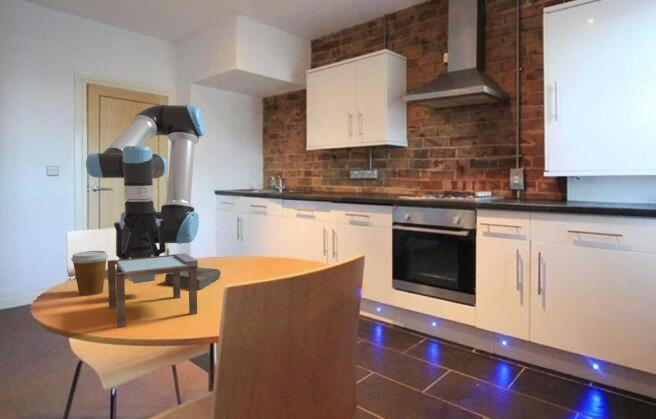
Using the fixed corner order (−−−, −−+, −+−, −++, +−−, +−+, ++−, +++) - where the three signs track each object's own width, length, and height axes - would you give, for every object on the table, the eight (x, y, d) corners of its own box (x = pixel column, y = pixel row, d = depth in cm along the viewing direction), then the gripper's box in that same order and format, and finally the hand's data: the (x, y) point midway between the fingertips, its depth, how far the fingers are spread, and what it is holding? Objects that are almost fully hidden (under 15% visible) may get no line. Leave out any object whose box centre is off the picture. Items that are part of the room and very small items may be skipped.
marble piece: (200, 291, 125) (199, 278, 125) (157, 288, 128) (157, 275, 127) (224, 278, 141) (224, 266, 141) (186, 276, 144) (186, 264, 144)
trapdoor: (117, 267, 107) (117, 258, 107) (183, 260, 117) (183, 252, 117) (125, 279, 95) (125, 269, 95) (199, 270, 105) (199, 261, 104)
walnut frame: (109, 306, 108) (107, 260, 107) (178, 296, 118) (178, 253, 118) (118, 327, 93) (116, 274, 92) (197, 313, 104) (196, 265, 103)
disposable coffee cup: (76, 290, 124) (74, 251, 123) (111, 287, 127) (109, 249, 127) (69, 298, 115) (67, 257, 114) (106, 295, 119) (105, 255, 118)
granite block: (130, 279, 119) (129, 259, 119) (150, 276, 122) (150, 257, 122) (133, 283, 115) (132, 263, 114) (154, 280, 118) (153, 260, 117)
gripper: (103, 202, 108) (108, 286, 110) (176, 199, 118) (178, 276, 121) (101, 200, 114) (105, 280, 116) (169, 197, 124) (172, 271, 127)
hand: (142, 278), depth 119 cm, fingers closed on granite block, 6 cm apart
